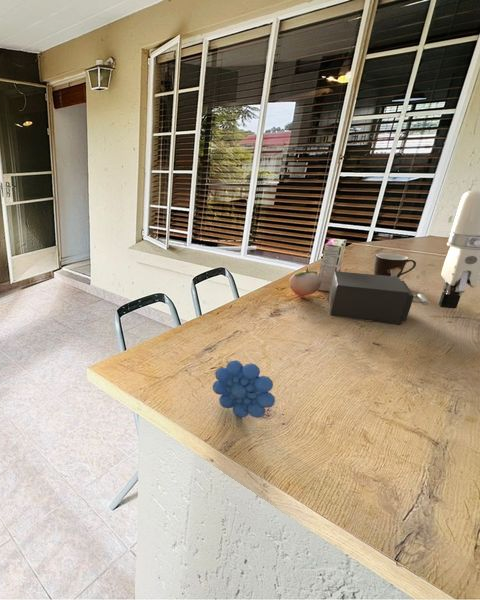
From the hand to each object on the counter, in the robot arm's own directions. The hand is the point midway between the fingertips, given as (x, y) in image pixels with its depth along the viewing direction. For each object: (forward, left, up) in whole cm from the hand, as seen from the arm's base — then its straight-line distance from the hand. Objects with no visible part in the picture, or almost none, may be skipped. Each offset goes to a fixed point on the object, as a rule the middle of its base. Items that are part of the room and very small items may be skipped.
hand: (447, 306), depth 95 cm
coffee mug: (+7, -31, -5) cm, 32 cm away
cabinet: (+18, 0, -4) cm, 18 cm away
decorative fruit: (+33, -6, -5) cm, 34 cm away
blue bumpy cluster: (+42, +65, -5) cm, 78 cm away
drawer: (+14, 0, -4) cm, 14 cm away
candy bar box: (+26, -20, -5) cm, 33 cm away
